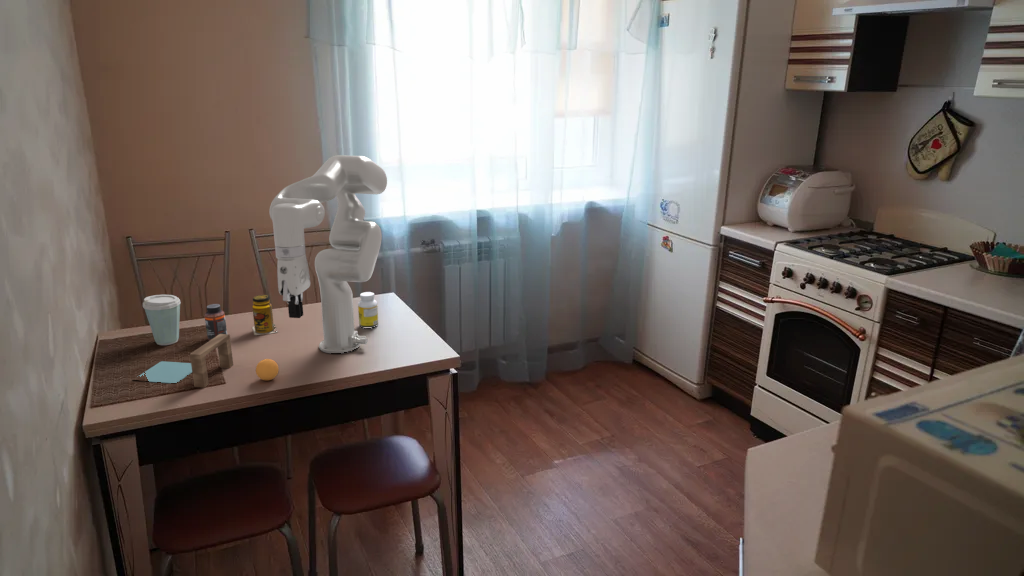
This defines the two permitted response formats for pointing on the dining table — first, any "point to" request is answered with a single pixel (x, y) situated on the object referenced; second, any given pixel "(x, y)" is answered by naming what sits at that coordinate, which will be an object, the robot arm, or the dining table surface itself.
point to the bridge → (199, 355)
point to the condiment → (262, 315)
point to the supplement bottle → (215, 321)
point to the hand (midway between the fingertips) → (296, 316)
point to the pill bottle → (368, 310)
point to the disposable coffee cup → (163, 317)
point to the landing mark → (168, 372)
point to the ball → (267, 369)
